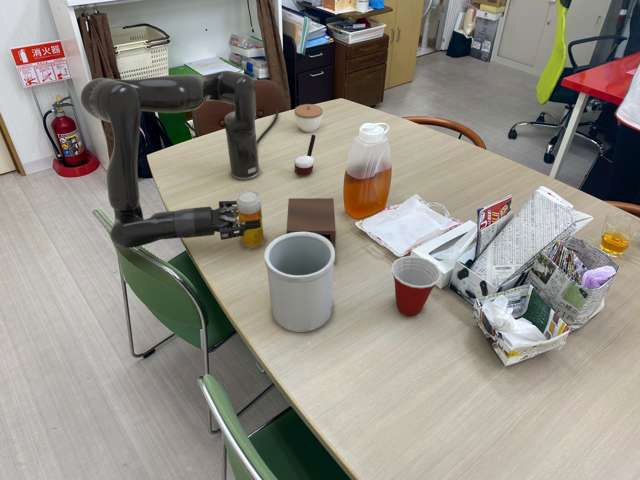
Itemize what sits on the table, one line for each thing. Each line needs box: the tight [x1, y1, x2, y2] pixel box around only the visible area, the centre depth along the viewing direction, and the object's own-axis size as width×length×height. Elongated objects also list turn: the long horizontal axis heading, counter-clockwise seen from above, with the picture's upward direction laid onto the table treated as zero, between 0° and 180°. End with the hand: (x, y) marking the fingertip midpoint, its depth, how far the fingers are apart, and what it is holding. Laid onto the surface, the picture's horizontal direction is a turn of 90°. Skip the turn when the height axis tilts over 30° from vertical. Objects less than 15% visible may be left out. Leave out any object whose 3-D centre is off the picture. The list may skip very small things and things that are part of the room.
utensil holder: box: [263, 232, 336, 333], centre depth 102 cm, size 15×15×18 cm
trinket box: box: [293, 103, 324, 133], centre depth 176 cm, size 11×11×9 cm
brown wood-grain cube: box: [286, 197, 337, 251], centre depth 121 cm, size 14×12×11 cm
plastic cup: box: [391, 255, 442, 317], centre depth 104 cm, size 11×11×12 cm
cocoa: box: [294, 134, 317, 177], centre depth 150 cm, size 10×6×12 cm, turn 119°
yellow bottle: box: [236, 190, 265, 249], centre depth 121 cm, size 6×6×15 cm
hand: (259, 215), depth 121 cm, fingers closed on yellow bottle, 6 cm apart
